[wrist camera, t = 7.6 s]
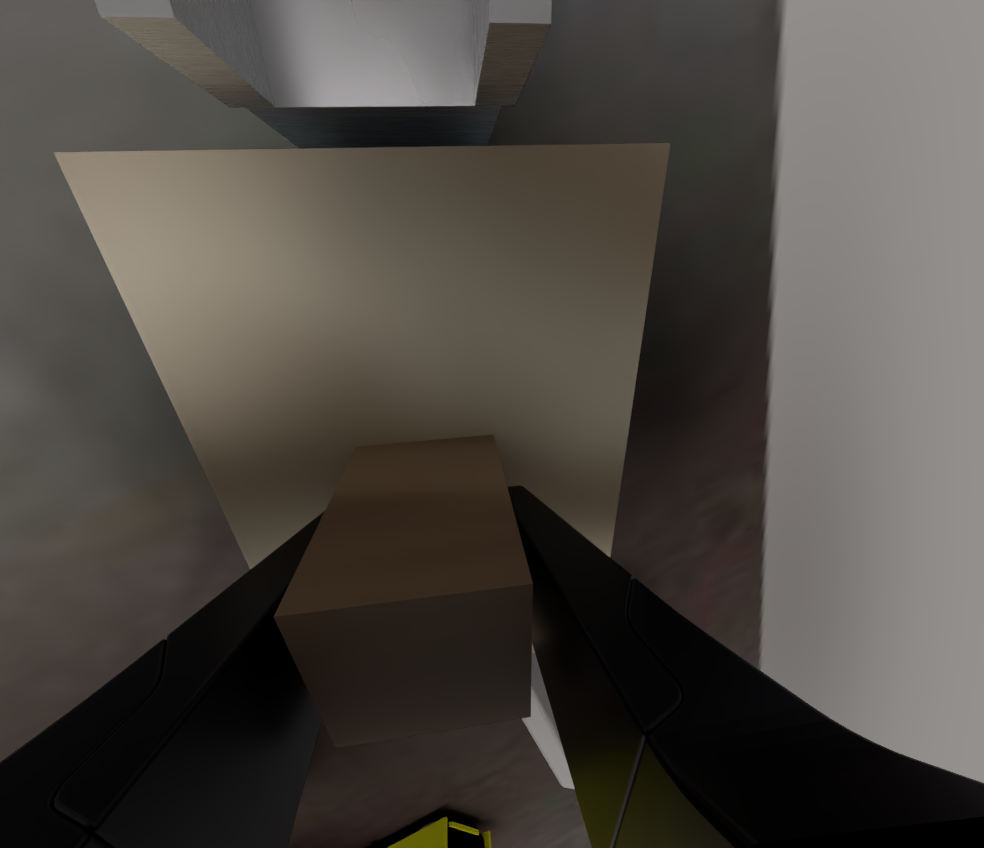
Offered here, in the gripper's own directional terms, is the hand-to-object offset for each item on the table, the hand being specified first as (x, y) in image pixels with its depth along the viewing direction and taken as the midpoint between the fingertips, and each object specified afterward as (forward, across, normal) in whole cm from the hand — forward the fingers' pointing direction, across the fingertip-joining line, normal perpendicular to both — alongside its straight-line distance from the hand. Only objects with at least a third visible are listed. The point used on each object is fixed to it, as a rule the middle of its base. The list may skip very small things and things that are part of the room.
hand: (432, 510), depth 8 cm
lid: (+1, 0, 0) cm, 1 cm away
